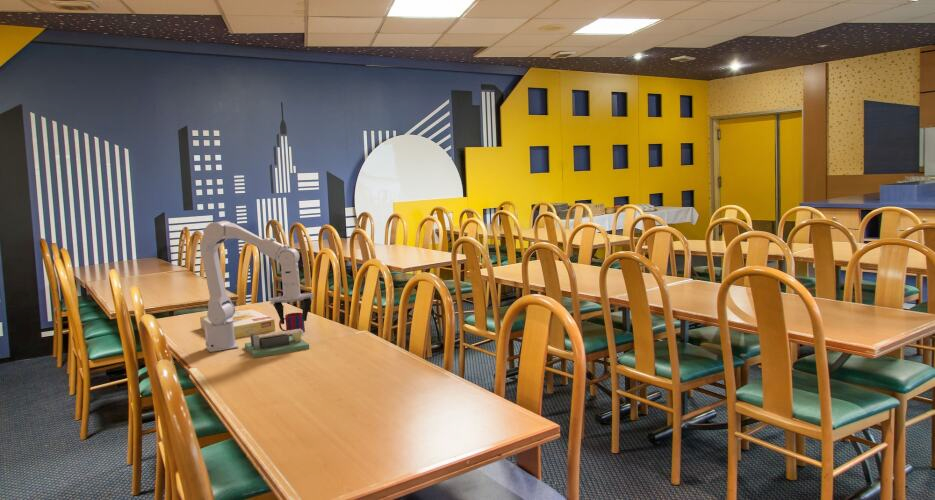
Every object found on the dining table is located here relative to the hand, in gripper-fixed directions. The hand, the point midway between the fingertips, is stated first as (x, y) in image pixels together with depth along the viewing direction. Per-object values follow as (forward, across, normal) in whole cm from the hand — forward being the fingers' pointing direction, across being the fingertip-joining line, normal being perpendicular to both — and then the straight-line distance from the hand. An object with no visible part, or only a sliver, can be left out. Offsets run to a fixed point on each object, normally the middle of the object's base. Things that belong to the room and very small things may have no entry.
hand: (293, 322), depth 225 cm
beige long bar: (+5, -5, 0) cm, 7 cm away
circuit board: (+8, -6, 0) cm, 10 cm away
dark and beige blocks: (+7, -6, 0) cm, 9 cm away
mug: (+8, +4, +19) cm, 21 cm away
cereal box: (+9, -12, +39) cm, 42 cm away
